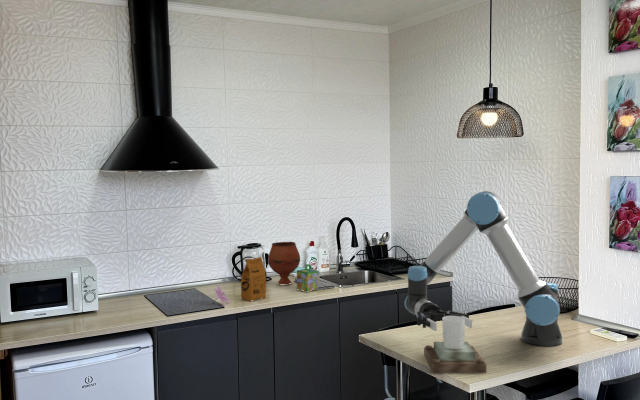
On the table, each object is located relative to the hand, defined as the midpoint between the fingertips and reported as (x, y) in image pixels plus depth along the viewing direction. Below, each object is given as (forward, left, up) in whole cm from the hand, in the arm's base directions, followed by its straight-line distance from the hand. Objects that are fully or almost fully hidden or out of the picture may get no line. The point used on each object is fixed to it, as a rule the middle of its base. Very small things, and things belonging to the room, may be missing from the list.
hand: (453, 325), depth 202 cm
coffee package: (+85, -105, -14) cm, 136 cm away
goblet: (+72, -145, -14) cm, 162 cm away
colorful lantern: (+57, -126, -14) cm, 139 cm away
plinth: (0, 0, -14) cm, 14 cm away
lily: (+100, -93, -14) cm, 137 cm away
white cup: (0, 0, -8) cm, 8 cm away
